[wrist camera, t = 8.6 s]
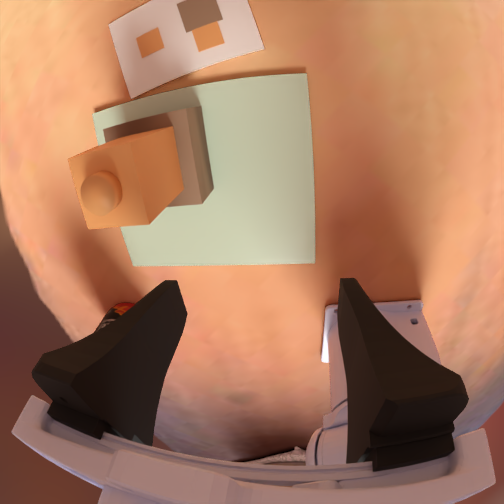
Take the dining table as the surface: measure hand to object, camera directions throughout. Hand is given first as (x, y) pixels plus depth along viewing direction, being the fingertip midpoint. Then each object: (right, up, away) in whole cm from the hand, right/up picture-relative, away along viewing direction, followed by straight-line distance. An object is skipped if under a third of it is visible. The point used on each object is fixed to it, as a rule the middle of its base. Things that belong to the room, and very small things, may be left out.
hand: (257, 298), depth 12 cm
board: (-4, +7, +8) cm, 11 cm away
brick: (-7, +8, +4) cm, 11 cm away
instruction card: (-5, +17, +2) cm, 18 cm away
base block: (-6, +9, +7) cm, 13 cm away
